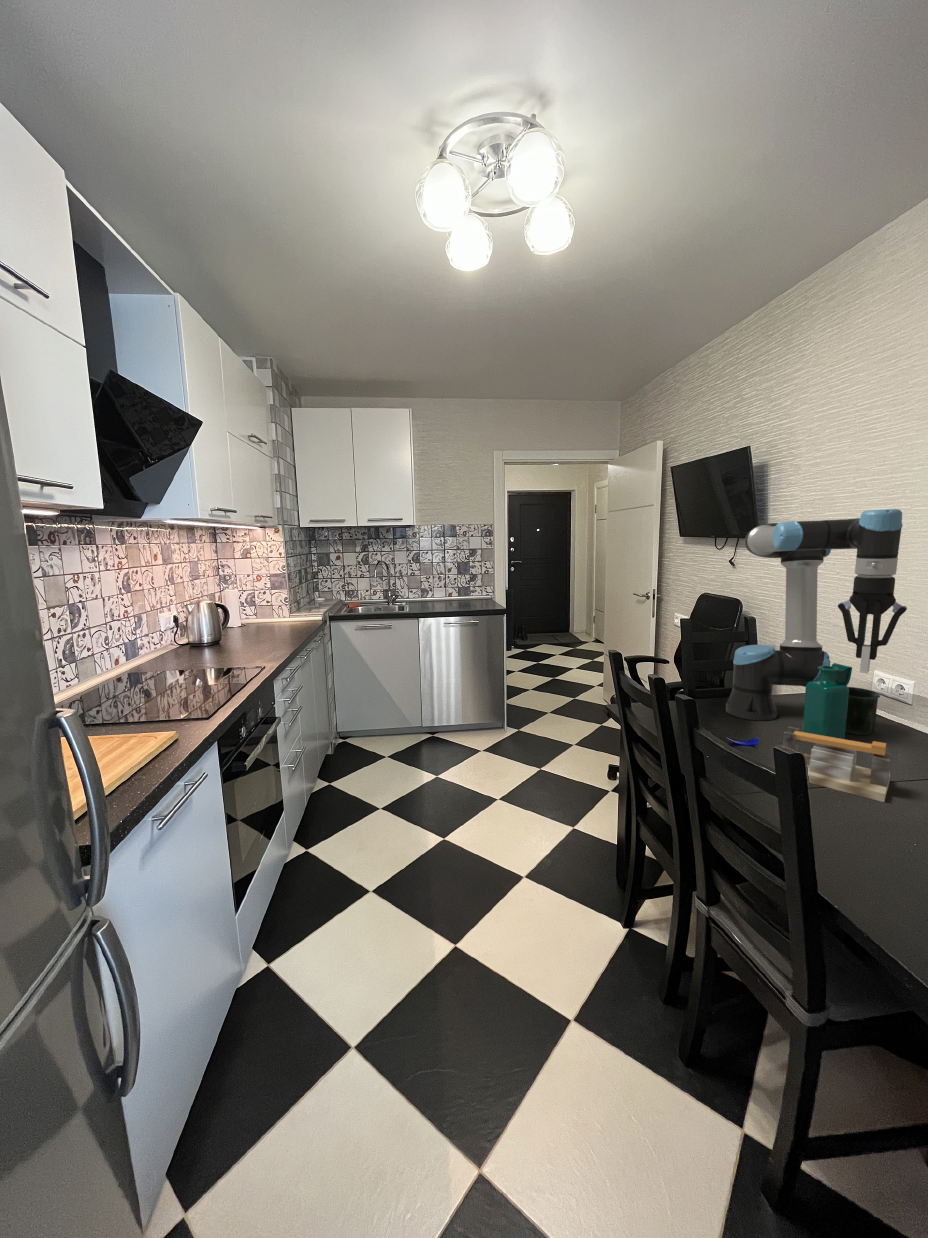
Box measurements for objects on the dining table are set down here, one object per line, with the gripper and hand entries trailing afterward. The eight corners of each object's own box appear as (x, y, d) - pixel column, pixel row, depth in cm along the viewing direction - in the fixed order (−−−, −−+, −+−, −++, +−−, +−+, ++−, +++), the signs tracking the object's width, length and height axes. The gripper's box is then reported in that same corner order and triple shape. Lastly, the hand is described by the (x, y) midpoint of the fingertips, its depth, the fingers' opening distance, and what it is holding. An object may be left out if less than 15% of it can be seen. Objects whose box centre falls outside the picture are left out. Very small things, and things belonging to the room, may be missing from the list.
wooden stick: (792, 738, 125) (792, 731, 125) (795, 735, 127) (795, 727, 127) (884, 755, 112) (884, 747, 112) (885, 751, 114) (886, 743, 114)
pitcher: (824, 745, 140) (830, 671, 136) (798, 734, 148) (803, 664, 145) (852, 741, 142) (858, 668, 138) (825, 730, 150) (830, 661, 147)
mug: (838, 734, 147) (841, 696, 145) (822, 717, 160) (825, 682, 159) (883, 738, 143) (886, 699, 141) (863, 721, 157) (866, 685, 155)
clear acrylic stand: (776, 773, 124) (778, 736, 123) (788, 757, 133) (791, 722, 132) (884, 802, 110) (888, 760, 108) (889, 781, 119) (893, 742, 117)
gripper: (837, 576, 117) (828, 670, 121) (910, 578, 108) (898, 680, 112) (843, 573, 122) (834, 663, 127) (913, 575, 113) (901, 672, 117)
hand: (864, 671), depth 119 cm, fingers closed
